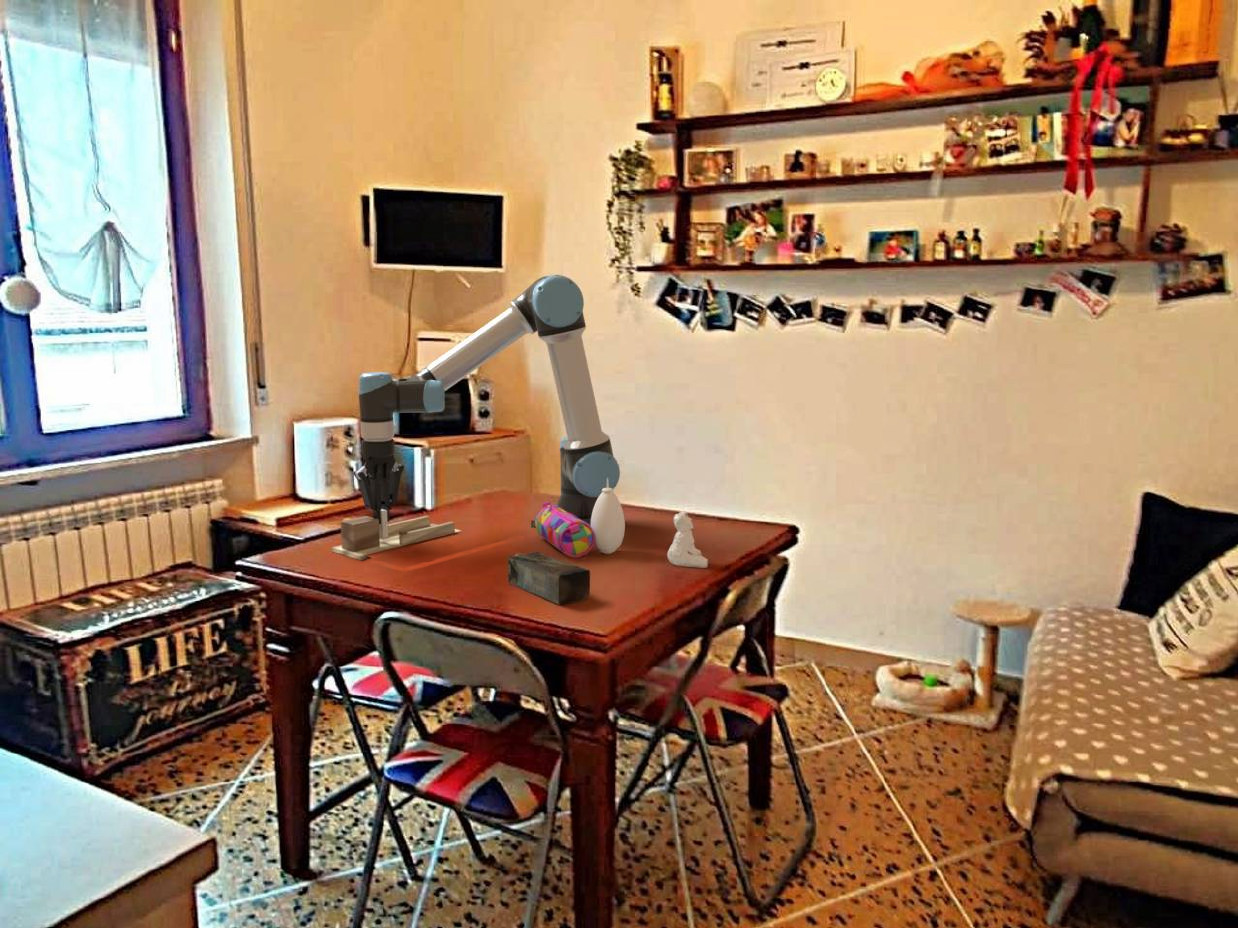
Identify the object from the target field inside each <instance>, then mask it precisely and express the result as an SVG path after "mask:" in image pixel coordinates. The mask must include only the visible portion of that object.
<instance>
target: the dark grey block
mask: <svg viewBox="0 0 1238 928" xmlns="http://www.w3.org/2000/svg"><path fill="white" fill-rule="evenodd" d="M507 565H508V566H507V567H508V568H507V578H508V579H507V581H508V584H510V585H512V586H515V587H516V588H519V589H521V590H523V591H526V592H528V593H530V594H533V595H535V596H538V597H540V598H542V599H545V600H547V601H549V602H552V603H554V604H557V605H559V606H561V605H565V604H569V603H570V604H571V603H573V602H574V603H575V602H579V601H583V600H587V599H590V596H591V593H590V592H591V591H590V590H591V571H590V570H589V569H586V568H584V567H581V566H578V565H575V564H572V563H569V562H566V561H563V560H560V559H557V558H555V557H552V556H549V555H547V554H544V553H541V552H539V551H534V552H527V553H516V554H515V555H511V556H509V557H508V558H507Z"/></svg>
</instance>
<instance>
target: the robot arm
mask: <svg viewBox="0 0 1238 928" xmlns="http://www.w3.org/2000/svg"><path fill="white" fill-rule="evenodd" d="M584 301H585V300H584V296H583V292H582V291H581V289H580V287H579V285H578V284H577V283H576V282H575V281H574V280H572V279H571V278H569V277H567V276H564V275H562V274H554V275H552V274H551V275H546V276H542V277H540V278H538V279H536V280H535V281H534V282H533V283H531V284H530V285H529V286H528V288H526V289H525V290H524V291H523V292H522V293H521V294H519V295H518V296H517V297H515V298H514V299H513V300H511V301H510V304H509V308H507V309H506V310H504V311H503V312H502V313H500V314H498V316H496V317H494V318H493V319H491V320H490V321H489V322H487V323H486V324H485V325H483V326H482V327H481V328H479V329H478V330H476V331H475V332H474V333H472V334H470V335H469V336H467V337H466V338H465V339H463V341H461V342H459V343H458V344H457V345H455V346H453V347H452V348H451V349H449V350H448V351H447V352H445V353H443V354H442V355H441V356H440V357H438V358H437V359H436V360H434V361H432V362H431V363H430V364H429V365H427V366H426V367H424V368H423V369H422V370H420V371H419V372H417V373H415V374H412V375H411V376H409V377H408V378H407V379H406V380H393V377H392V374H391V373H390V372H387V371H386V372H384V371H383V372H382V371H373V372H371V371H370V372H364V373H361V374H360V376H359V377H358V402H359V403H358V405H359V416H360V417H359V418H360V419H359V420H360V435H361V436H360V437H361V438H362V440H361V442H360V443H361V455H362V457H363V460H362V463H361V467H360V468H359V469H358V470H354V471H353V476H354V477H355V479H356V480H357V482H358V487H359V489H360V494H361V498H362V501H363V505H364V508H365V509H367V510H371V511H372V518H376V519H379V537H382V538H384V537H388V524H389V522H390V521H391V519H390V510H392V509H393V506H395V505H397V501H398V494H399V490H400V489H399V488H400V482H401V475H402V473H403V472H404V468H405V466H404V465H403V464H399V463H398V462H396V458H395V453H396V451H395V450H396V449H395V447H396V446H395V445H396V444H395V439H394V438H393V437H395V425H394V424H395V423H394V414H401V413H402V414H403V413H405V414H407V413H408V414H409V413H411V414H412V413H414V414H415V413H416V414H417V413H423V414H424V413H428V414H432V413H440V412H443V411H444V410H445V407H446V406H445V403H446V402H445V400H446V399H445V392H446V391H448V390H449V389H450V388H451V387H453V386H455V385H456V384H458V382H460V381H462V380H463V379H464V378H466V377H467V376H468V375H470V374H471V373H473V372H475V371H476V370H477V369H478V368H479V367H481V366H483V365H484V364H485V363H487V362H488V361H490V360H491V359H492V358H494V357H496V356H497V355H498V354H499V353H501V352H502V351H504V350H506V349H507V348H508V347H510V346H511V345H512V344H514V343H515V342H517V341H518V340H520V339H521V338H522V337H524V336H525V335H527V334H530V335H533V334H535V333H537V337H538V338H539V339H540V340H542V341H543V342H545V343H546V347H547V350H548V351H547V352H548V356H549V360H550V366H551V369H552V374H553V378H554V383H555V387H556V392H557V395H558V396H557V397H558V401H559V406H560V409H561V414H562V418H563V419H562V420H563V422H564V423H563V424H564V427H565V433H566V437H562V438H561V440H560V446H559V453H560V456H559V457H560V496H559V499H558V502H557V505H558V506H560V507H562V508H563V509H564V510H565V511H566V512H568V513H571V514H573V515H574V516H576V517H577V518H579V519H581V520H582V521H584V522H586V523H588V524H589V525H590V526H591V516H592V512H593V508H594V506H595V503H596V501H597V499H598V497H599V496H600V494H601V493H602V489H603V488H607V478H608V481H609V488H612V489H613V490H615V488H616V486H617V485H618V483H619V481H620V476H621V470H620V464H619V463H618V460H617V459H616V458H615V457H614V453H613V452H614V451H613V447H612V442H611V438H610V435H608V434H607V433H605V432H604V431H603V430H602V424H601V421H600V417H599V416H600V415H599V411H598V407H597V402H596V398H595V393H594V388H593V383H592V379H591V374H590V370H589V366H588V365H589V364H588V360H587V356H586V351H585V346H584V342H583V341H584V340H583V333H584V332H585V330H586V328H587V326H586V325H587V324H586V322H585V315H584V311H583V310H584V305H585V303H584ZM367 476H368V477H367Z"/></svg>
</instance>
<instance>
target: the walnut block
mask: <svg viewBox="0 0 1238 928" xmlns="http://www.w3.org/2000/svg"><path fill="white" fill-rule="evenodd" d="M340 535H341V537H340V539H341V540H340V541H341V545H342V549H346V550H349V551H352V552H357V551H361V550H366V549H370V548H374V547H378V546H380V538H379V519H376V518H373V516H372V517H371V516H368V515H365V516H364V515H363V516H360V517H355V518H350V519H345V520H341V521H340Z"/></svg>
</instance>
